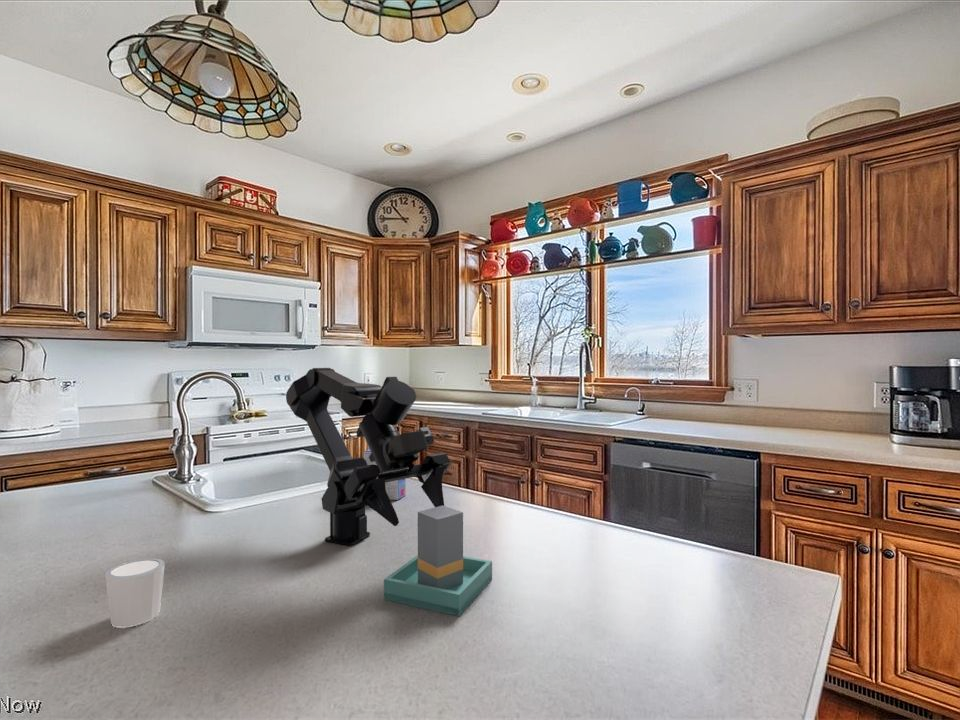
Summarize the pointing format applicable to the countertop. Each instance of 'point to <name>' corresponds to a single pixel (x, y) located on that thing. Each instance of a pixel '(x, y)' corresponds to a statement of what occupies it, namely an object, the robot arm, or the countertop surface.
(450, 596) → the tray
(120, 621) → the white cup
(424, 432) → the robot arm
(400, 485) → the ink cartridge box
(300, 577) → the countertop surface
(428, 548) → the gray rectangular block
